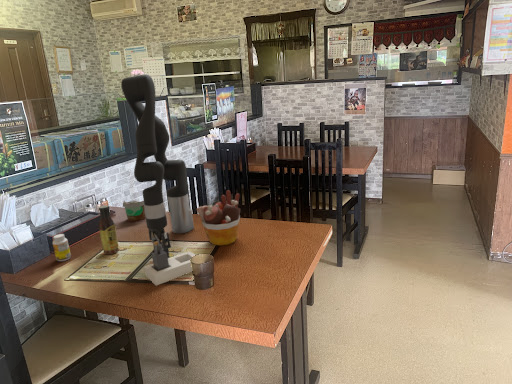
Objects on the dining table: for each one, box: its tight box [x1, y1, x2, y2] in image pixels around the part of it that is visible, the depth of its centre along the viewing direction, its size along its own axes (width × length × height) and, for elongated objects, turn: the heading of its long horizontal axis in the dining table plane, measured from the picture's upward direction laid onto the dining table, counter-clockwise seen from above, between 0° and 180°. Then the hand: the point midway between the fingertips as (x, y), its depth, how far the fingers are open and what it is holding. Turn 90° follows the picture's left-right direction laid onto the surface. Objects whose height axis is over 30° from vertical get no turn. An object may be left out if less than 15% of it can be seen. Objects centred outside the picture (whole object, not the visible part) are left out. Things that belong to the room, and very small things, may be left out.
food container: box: [122, 200, 146, 223], centre depth 200 cm, size 12×6×10 cm, turn 80°
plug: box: [152, 241, 170, 258], centre depth 150 cm, size 4×4×8 cm
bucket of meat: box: [196, 189, 241, 247], centre depth 165 cm, size 20×16×20 cm
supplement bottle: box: [52, 233, 72, 262], centre depth 159 cm, size 6×6×10 cm
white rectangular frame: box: [144, 245, 196, 287], centre depth 140 cm, size 18×9×12 cm, turn 127°
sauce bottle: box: [98, 204, 119, 255], centre depth 162 cm, size 6×6×20 cm
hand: (161, 254), depth 151 cm, fingers open, 8 cm apart
